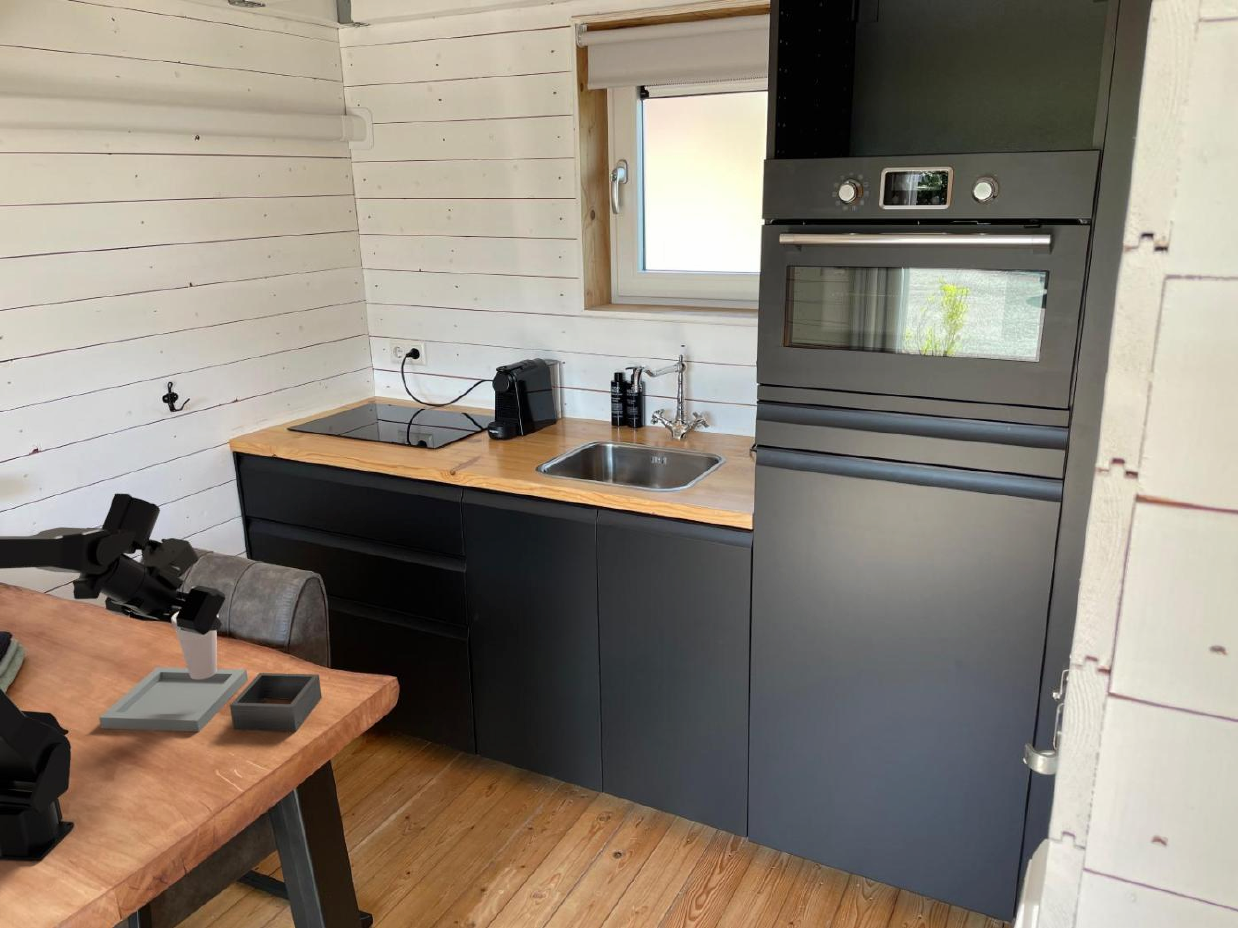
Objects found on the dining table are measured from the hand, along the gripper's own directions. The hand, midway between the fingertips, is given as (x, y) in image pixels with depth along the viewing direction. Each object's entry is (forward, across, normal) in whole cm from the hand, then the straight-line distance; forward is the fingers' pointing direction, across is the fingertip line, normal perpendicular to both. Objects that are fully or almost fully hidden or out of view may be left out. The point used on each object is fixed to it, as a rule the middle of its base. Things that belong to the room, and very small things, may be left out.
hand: (203, 623), depth 138 cm
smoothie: (+5, 0, +6) cm, 8 cm away
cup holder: (+10, -11, +8) cm, 18 cm away
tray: (+8, +5, +11) cm, 14 cm away
